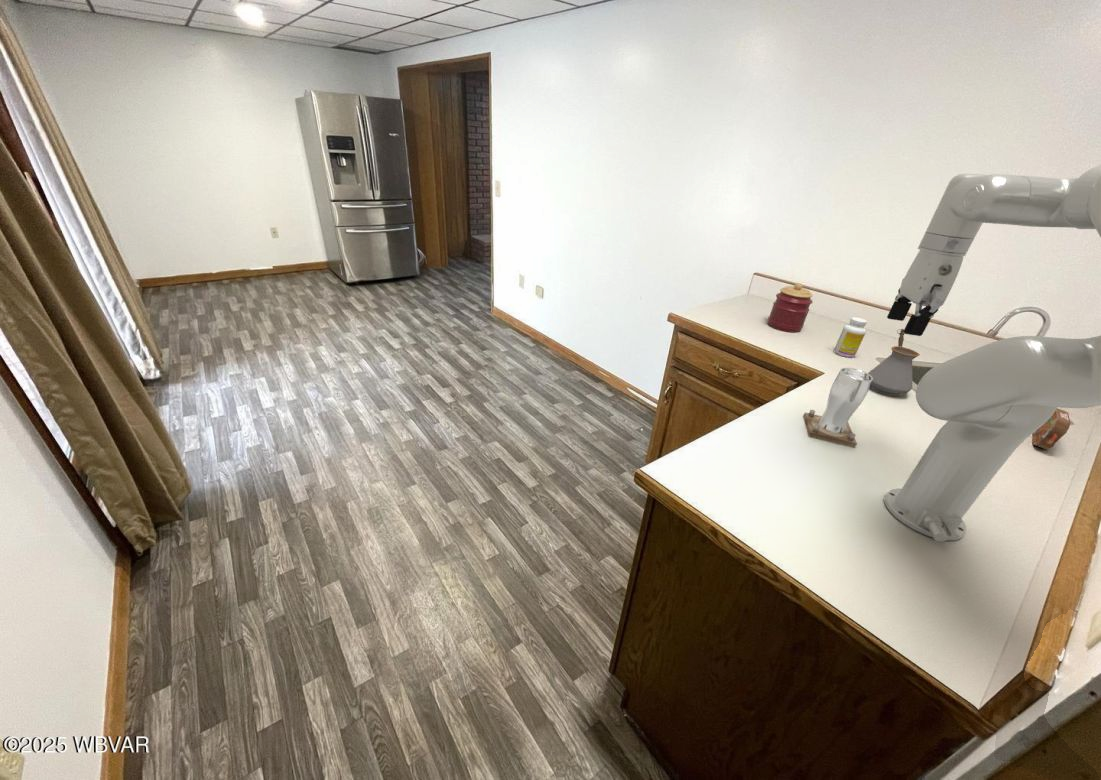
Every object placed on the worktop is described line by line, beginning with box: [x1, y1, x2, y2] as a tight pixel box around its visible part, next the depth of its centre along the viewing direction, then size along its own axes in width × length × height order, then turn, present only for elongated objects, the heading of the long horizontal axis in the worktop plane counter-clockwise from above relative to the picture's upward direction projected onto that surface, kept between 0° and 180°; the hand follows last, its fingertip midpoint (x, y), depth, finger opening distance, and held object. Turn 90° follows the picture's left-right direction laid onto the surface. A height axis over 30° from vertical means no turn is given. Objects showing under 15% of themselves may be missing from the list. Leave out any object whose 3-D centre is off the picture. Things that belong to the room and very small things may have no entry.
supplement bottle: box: [833, 316, 868, 358], centre depth 149 cm, size 7×7×13 cm
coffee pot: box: [867, 328, 921, 397], centre depth 130 cm, size 21×12×15 cm, turn 149°
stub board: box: [803, 409, 858, 448], centre depth 107 cm, size 10×10×3 cm
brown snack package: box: [1031, 407, 1071, 450], centre depth 108 cm, size 15×3×8 cm, turn 134°
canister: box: [767, 283, 813, 333], centre depth 168 cm, size 13×13×18 cm
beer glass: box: [817, 367, 873, 434], centre depth 103 cm, size 7×7×15 cm
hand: (903, 326), depth 92 cm, fingers open, 9 cm apart
